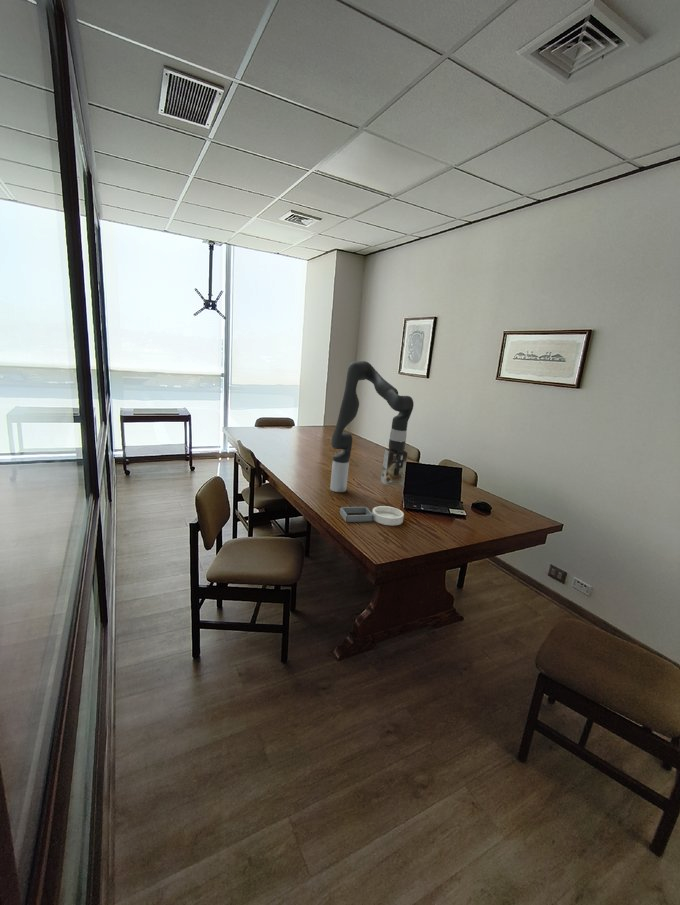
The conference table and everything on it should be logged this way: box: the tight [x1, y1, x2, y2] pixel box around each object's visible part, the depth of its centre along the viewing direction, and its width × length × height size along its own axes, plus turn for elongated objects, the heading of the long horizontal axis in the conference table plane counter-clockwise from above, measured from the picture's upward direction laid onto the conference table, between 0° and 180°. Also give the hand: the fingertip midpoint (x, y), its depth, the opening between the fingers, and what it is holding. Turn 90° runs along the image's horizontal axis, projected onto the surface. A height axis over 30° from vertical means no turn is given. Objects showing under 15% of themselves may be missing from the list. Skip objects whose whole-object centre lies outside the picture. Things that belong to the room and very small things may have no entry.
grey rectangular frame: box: [339, 506, 374, 523], centre depth 193 cm, size 11×14×3 cm
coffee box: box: [380, 448, 408, 486], centre depth 188 cm, size 9×6×16 cm
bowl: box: [371, 505, 405, 526], centre depth 194 cm, size 15×15×4 cm
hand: (393, 473), depth 189 cm, fingers closed on coffee box, 6 cm apart
